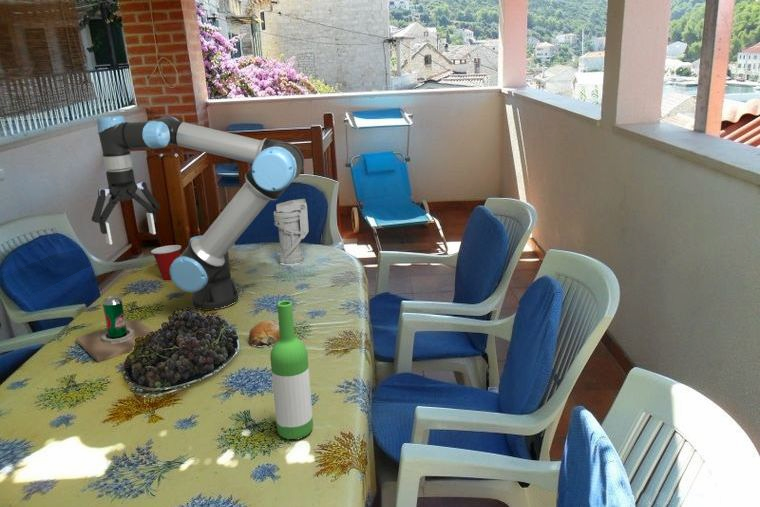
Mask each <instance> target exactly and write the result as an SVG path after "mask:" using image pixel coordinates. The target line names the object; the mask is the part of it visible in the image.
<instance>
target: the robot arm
mask: <svg viewBox="0 0 760 507" xmlns="http://www.w3.org/2000/svg"><path fill="white" fill-rule="evenodd" d="M96 122H97V133H98V136H99V141H100V147H101V152H102V159H103V163H104V169H105V170H106V172H105V174H106V180H107V185H108V188H98V189H97V200H96V203H95V206H94V208H93V209H94V210H93V212H92V216H91V222H94V223H96V224H98V226H99V228H100V233H101V234H103V235H104V238H105V239H104V240H105V244H107V245H113V240H112V234H111V229H110V224H109V222H107V220H108V218H109V217H110V215H111V214H112V211H113V210H114V208H115V207H116V205H117V204H118V203H119V202H124V201H131V200H132V199H133V200H134V201H135V202H137V203H138V204H140V206H142V207H143V208H144V209H145V210H146V211H147V212H146V218H147V225H148V231H149V234H152V235H156V234H157V232H156V227H155V226H156V225H155V223H157V216H156V213H157V212H158V211H159V210H161V209H162V208H161V206H160V204H159V203H158V200H156V199H155V197H154V195H152V193H151V192H150V190H149V189H148V186H147V183H146V182H145V181H139V182H138V183H136V178H135V173H134V169H133V167H134V166H133V161H132V156H131V151H130V150H132V149H160V148H161V149H162V148H165V147H167V146H168V145H174V146H178V147H183V148H186V149H191V150H194V151H199V152H202V153H206V154H207V153H208V154H211V155H215V156H220V157H224V158H226V159H227V158H229V159H232V160H236V161H240V162H245V163H248V164H249V163H250V164H251V166H250V168H248V170H247V171H246V172H245V175H244V177H245V178H244V179H245V182H244V184H243V185H242V186H241V188H240V189H239V190H238V191H237V193H235V195H234V196H233V197H232V199H231V200H230V201H229V203H228V204H227V205H226V206H225V207H224V208H223V210H222V211H221V213H220V214H219V215H218V216H217V218H216V219H215V220H214V221H213V222H212V224H211V225H210V226H209V227H208V229H207V230H206V231H205V232H204V234H202V235H197V236H193V237H190V238H189V244H188V246H187V247H186V248H185V249H184V250H183V252H182V253H180V256H179V257H178V258H176V259H175V260H174V261H173V263H172V264H171V266H170V276H171V279H172V280H171V281H172V282H173V284H174V285H175V286H176V288H178V289H180V290H181V291H183V292H187V293H192V297H191V301H192V302H191V303H192V307H193V308H195V307H196V308H195V309H197V308H201V309H215V308H221V307H224V306H228V305H230V304H232V303H234V302H236V301H237V300H238V298H239V291H238V289H237V288H236V285H235V284H234V281H233V278H232V276H231V266H230V258H229V250H230V249H231V248H232V247H233V245H234V244H235V243H236V241H238V239H239V238H240V237H241V235H243V233H244V232H245V231H246V230H247V229H248V228H249V226H250V225H251V224H252V223H253V221H254V220H255V219H256V217H258V215H259V214H260V213H261V212H262V210H263V209H264V208H265V207H266V205H267V204H268V203H269V202H271V201H277V200H278V199H279V198H280V197H281V195H282V194H283V193H284V192H285V191H286V190H287V189H288V187H289V186H290V185H291V183H292V182H293V181H294V180H296V179H297V178H298V177H299V176H300V175H301V174H302V172H303V170H304V166H305V158H304V155H303V153H302V151H301V150H300V148H299V147H298V146H296V145H295V144H293V143H291V142H287V141H282V140H278V139H277V140H276V139H272V138H271V139H270V138H267V137H265V138H264V139H256V138H252V137H248V136H245V135H239V134H235V133H231V132H227V131H223V130H218V129H214V128H211V127H206V126H202V125H198V124H194V123H189V122H184V121H180V120H179V119H177V118H176V117H174V116H162V117H159V118H156V119H150V120H146V121H133V122H129V121H128V122H127V121H126V119H125V117H124V115H104V116H100V117H98V118H97V121H96ZM137 190H140V192H142V194H143V195H144V197H145V198H146V199H147V201H148V202H149V203H150V204H149V203H148V202H147V201H145V199H143V198H142V197H141V196H140V195H139V194H138V193H136V192H137ZM108 194H109V195H110V197H109V199H108V202H107V204H106V206H105V207H104V205H105V202H106V198H107V197H108ZM238 301H239V300H238ZM238 301H237V302H238ZM237 302H236V303H237ZM201 309H200V310H201Z"/></svg>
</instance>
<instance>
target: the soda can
mask: <svg viewBox="0 0 760 507" xmlns="http://www.w3.org/2000/svg"><path fill="white" fill-rule="evenodd" d="M102 308H103V313H104V319H105V324H106V328H107V331H108V336H109V338H110V339H118V338H122V337H125V336H127V328H126V322H127V321H126V317H125V311H124V306H123V301H122V299H121V297H120V296H116V295H115V296H114V295H113V296H108V297H106V298H104V299H103V302H102Z"/></svg>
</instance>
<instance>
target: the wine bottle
mask: <svg viewBox="0 0 760 507" xmlns="http://www.w3.org/2000/svg"><path fill="white" fill-rule="evenodd" d="M293 311H294V310H293V303H292V302H291V300H280V301H278V303H277V316H278V318H277V319H278V324H279V331H280V339H279V340H278V341H277V342H276V343H275V344H274V346H273V347H271V349H270V350H271V351H270V355H269V356H270V367H271V368H270V370H271V378H272V380H271V381H272V389H273V390H272V391H273V401H274V411H275V421H276V430H277V431H276V432H277V433H278V435H279V436H280V437H281V436H282V438H283V437H284V438H283V439H285V438H286V439H285V440H289V439H297V440H299V439H298V438H301V437H304V436H306V435H307V436H308V435H309V434H310V433H311V432H312V431H313V427H314V420H313V406H312V404H313V403H312V394H311V382H310V381H311V380H310V367H309V366H310V365H309V354H308V349H307V347H306V345H305V344H304V343H303V342H302V341H301V339H299V338H297V337H296V335H295V324H294V314H293ZM307 436H306V437H307ZM304 438H305V437H304ZM301 439H302V438H301Z"/></svg>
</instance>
